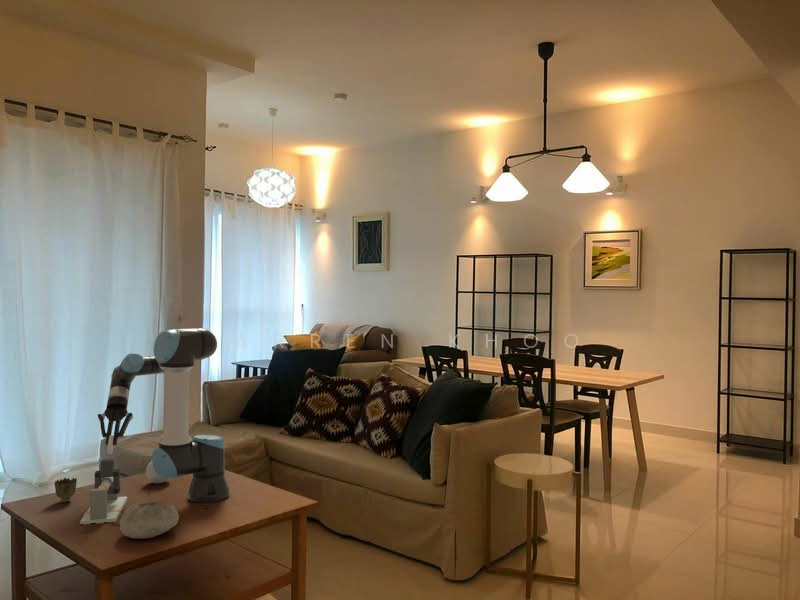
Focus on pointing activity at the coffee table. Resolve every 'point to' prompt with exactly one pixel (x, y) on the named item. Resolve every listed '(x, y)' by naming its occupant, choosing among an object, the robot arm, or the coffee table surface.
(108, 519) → the pipe stand
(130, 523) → the grey stone
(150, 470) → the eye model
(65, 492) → the cup
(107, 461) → the collar
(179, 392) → the robot arm
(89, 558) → the coffee table surface
